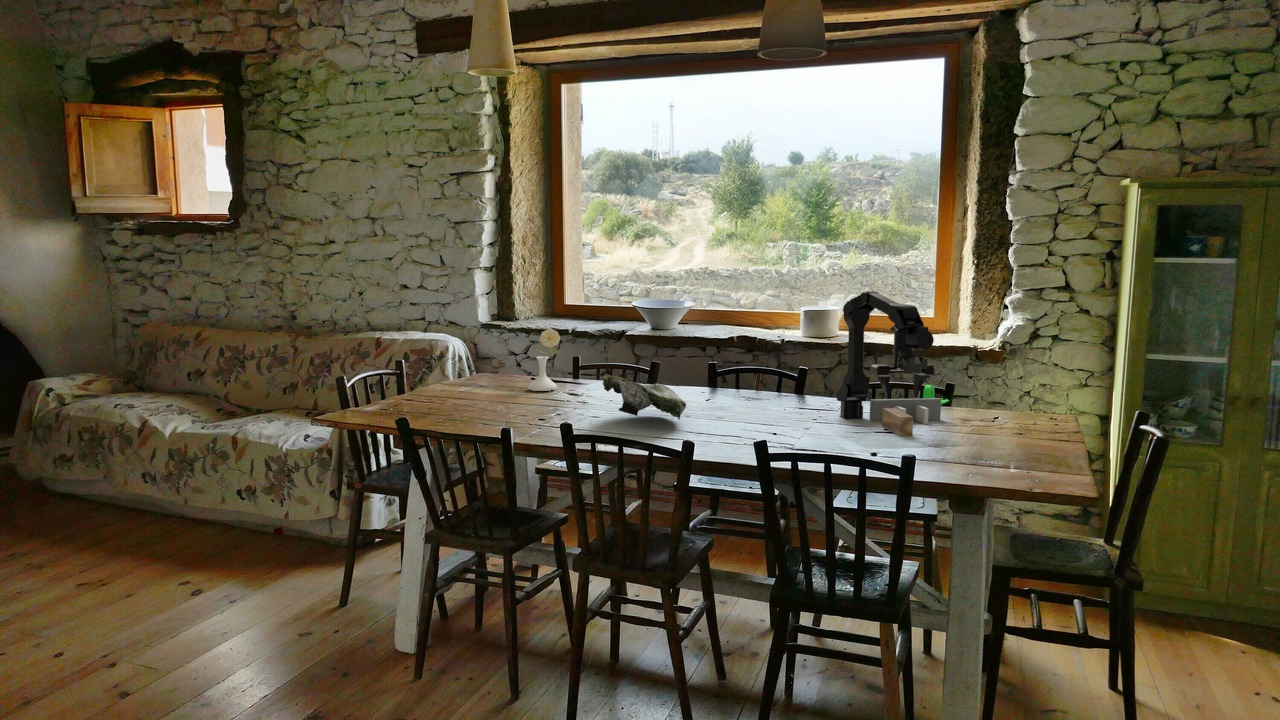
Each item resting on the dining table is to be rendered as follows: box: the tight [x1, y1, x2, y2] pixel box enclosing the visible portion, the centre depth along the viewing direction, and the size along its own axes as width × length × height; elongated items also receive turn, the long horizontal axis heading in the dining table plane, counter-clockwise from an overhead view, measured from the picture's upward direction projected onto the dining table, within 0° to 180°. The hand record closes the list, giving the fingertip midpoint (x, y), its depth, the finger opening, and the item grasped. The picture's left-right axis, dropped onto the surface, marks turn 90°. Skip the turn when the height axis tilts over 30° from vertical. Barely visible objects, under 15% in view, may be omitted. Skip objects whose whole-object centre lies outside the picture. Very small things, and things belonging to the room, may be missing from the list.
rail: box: [881, 408, 914, 437], centre depth 269 cm, size 4×16×6 cm, turn 3°
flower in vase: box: [527, 328, 561, 392], centre depth 342 cm, size 13×11×25 cm
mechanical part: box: [922, 384, 950, 406], centre depth 317 cm, size 12×6×8 cm, turn 141°
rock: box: [602, 373, 687, 421], centre depth 286 cm, size 29×30×15 cm
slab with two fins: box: [869, 397, 942, 425], centre depth 284 cm, size 24×8×7 cm, turn 99°
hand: (901, 397), depth 266 cm, fingers open, 9 cm apart
